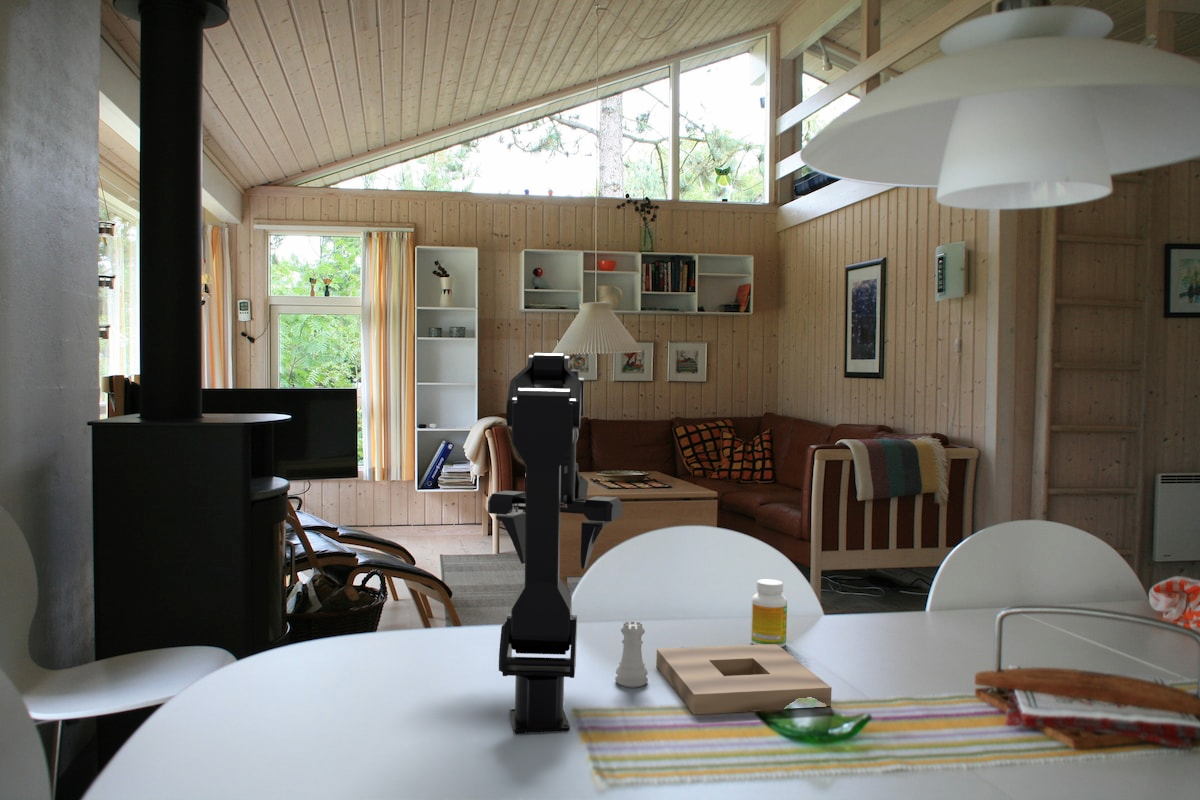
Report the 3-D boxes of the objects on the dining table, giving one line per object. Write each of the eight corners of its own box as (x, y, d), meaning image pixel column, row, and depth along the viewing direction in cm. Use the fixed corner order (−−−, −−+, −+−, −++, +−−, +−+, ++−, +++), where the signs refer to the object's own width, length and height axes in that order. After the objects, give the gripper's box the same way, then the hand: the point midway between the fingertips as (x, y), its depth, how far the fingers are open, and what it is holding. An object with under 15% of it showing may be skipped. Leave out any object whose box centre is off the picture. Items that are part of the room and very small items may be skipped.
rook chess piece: (645, 689, 117) (646, 629, 117) (612, 686, 118) (613, 626, 118) (650, 678, 122) (651, 620, 121) (618, 675, 122) (619, 617, 122)
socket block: (831, 707, 112) (831, 687, 112) (693, 714, 109) (694, 694, 109) (776, 660, 130) (776, 643, 130) (656, 666, 127) (656, 648, 127)
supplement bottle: (789, 649, 136) (790, 586, 135) (753, 648, 136) (755, 585, 135) (782, 639, 141) (784, 578, 141) (748, 638, 141) (750, 577, 141)
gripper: (634, 456, 132) (631, 561, 133) (518, 450, 138) (515, 551, 138) (611, 461, 122) (609, 575, 122) (487, 455, 128) (484, 564, 128)
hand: (553, 565), depth 128 cm, fingers open, 9 cm apart
